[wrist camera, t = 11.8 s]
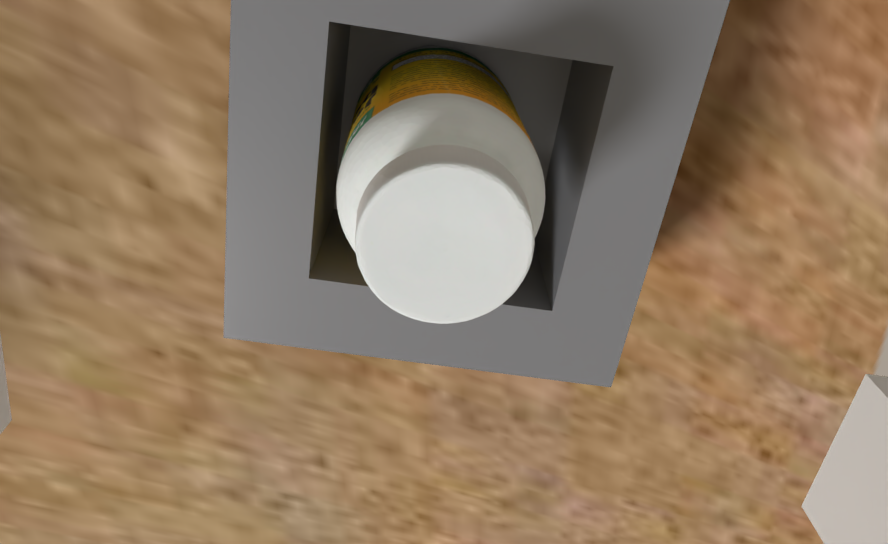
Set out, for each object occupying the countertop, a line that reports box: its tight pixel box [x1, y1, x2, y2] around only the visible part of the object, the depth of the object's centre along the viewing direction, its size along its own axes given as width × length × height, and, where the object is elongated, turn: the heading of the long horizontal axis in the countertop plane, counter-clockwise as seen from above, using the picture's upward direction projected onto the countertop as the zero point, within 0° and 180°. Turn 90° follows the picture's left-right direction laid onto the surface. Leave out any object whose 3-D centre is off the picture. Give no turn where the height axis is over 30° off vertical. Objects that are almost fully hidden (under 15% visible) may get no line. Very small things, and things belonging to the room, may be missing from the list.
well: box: [224, 0, 730, 387], centre depth 23 cm, size 12×12×6 cm
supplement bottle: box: [336, 46, 545, 324], centre depth 21 cm, size 5×5×10 cm
